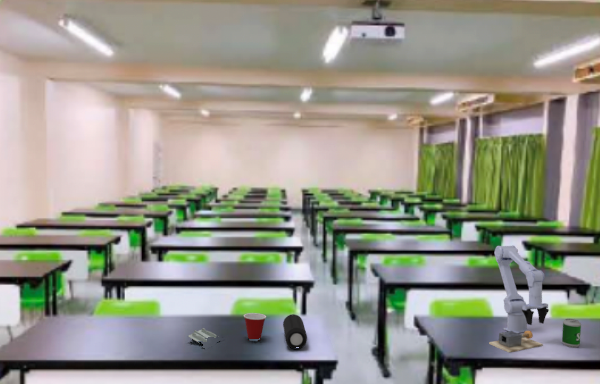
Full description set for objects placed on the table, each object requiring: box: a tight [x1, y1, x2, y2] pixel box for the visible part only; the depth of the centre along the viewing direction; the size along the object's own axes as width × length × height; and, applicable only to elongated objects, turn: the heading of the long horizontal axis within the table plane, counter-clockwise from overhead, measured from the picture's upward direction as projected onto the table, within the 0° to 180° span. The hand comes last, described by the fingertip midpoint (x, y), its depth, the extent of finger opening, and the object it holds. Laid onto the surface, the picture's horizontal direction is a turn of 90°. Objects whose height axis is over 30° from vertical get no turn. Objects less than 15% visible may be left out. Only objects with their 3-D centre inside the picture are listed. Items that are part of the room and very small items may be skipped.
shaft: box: [520, 330, 533, 339], centre depth 245 cm, size 14×4×4 cm, turn 116°
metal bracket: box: [187, 327, 218, 343], centre depth 241 cm, size 14×6×15 cm
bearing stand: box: [488, 331, 544, 353], centre depth 244 cm, size 22×12×6 cm, turn 116°
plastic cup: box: [243, 312, 267, 339], centre depth 245 cm, size 11×11×12 cm
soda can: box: [561, 318, 582, 349], centre depth 244 cm, size 8×8×12 cm
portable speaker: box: [282, 313, 308, 349], centre depth 244 cm, size 26×10×10 cm, turn 5°
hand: (535, 323), depth 249 cm, fingers open, 7 cm apart
